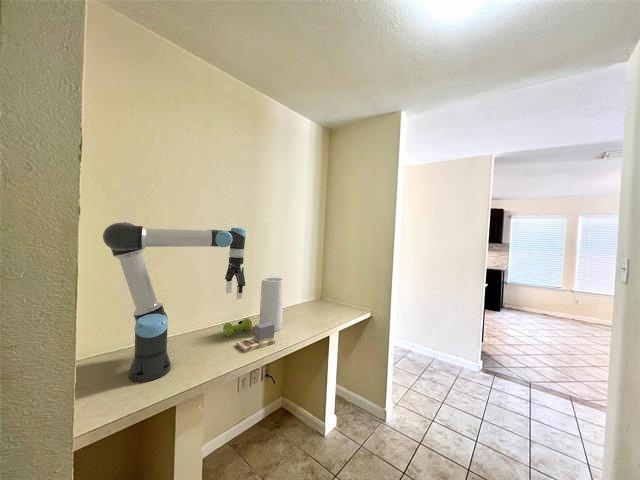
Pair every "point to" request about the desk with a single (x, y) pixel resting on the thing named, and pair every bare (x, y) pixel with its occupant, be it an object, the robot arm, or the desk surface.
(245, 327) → the dumbbell
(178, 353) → the desk surface
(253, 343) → the board
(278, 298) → the vase
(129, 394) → the desk surface
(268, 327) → the block
